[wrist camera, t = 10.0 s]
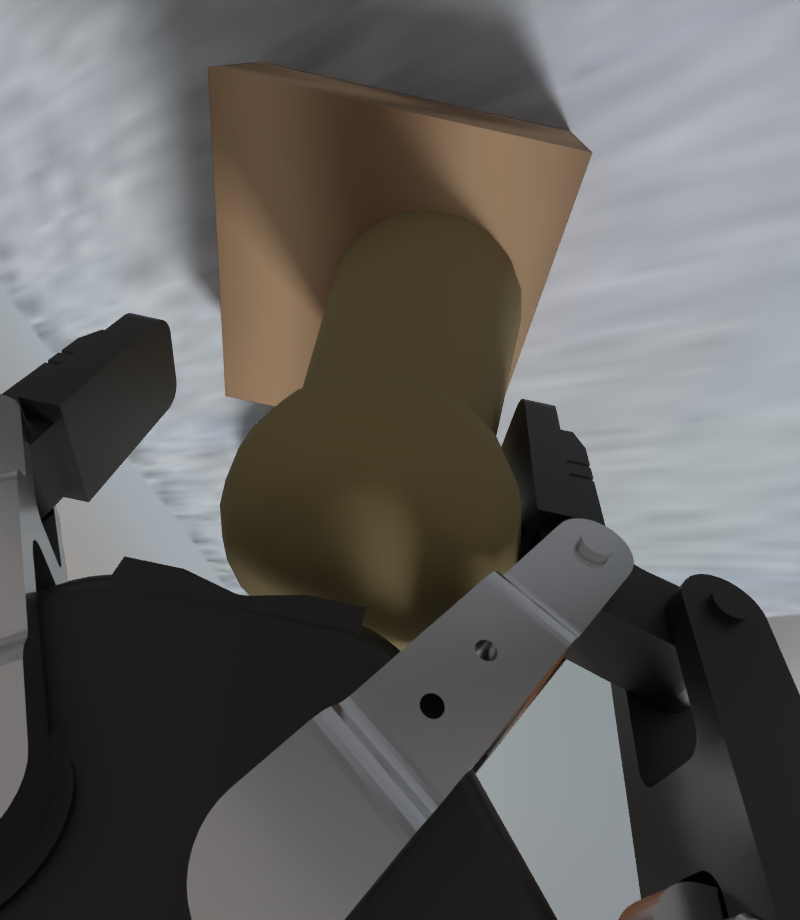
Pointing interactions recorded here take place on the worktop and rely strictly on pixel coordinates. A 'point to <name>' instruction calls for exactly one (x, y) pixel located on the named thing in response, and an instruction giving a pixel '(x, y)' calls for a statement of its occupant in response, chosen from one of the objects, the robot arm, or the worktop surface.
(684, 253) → the worktop surface
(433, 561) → the olive stamp handle
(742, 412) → the worktop surface
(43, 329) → the worktop surface
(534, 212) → the walnut plinth
